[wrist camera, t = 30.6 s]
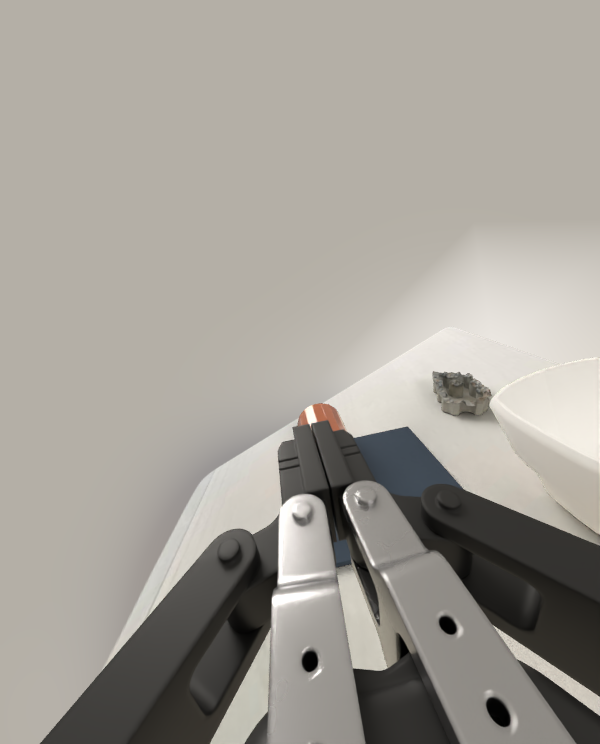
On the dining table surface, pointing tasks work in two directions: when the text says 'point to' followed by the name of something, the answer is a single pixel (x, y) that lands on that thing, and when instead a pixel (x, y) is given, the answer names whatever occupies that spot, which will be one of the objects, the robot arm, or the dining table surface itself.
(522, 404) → the bowl
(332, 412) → the cup
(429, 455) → the mat
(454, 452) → the dining table surface
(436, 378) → the grey jagged stone ring
